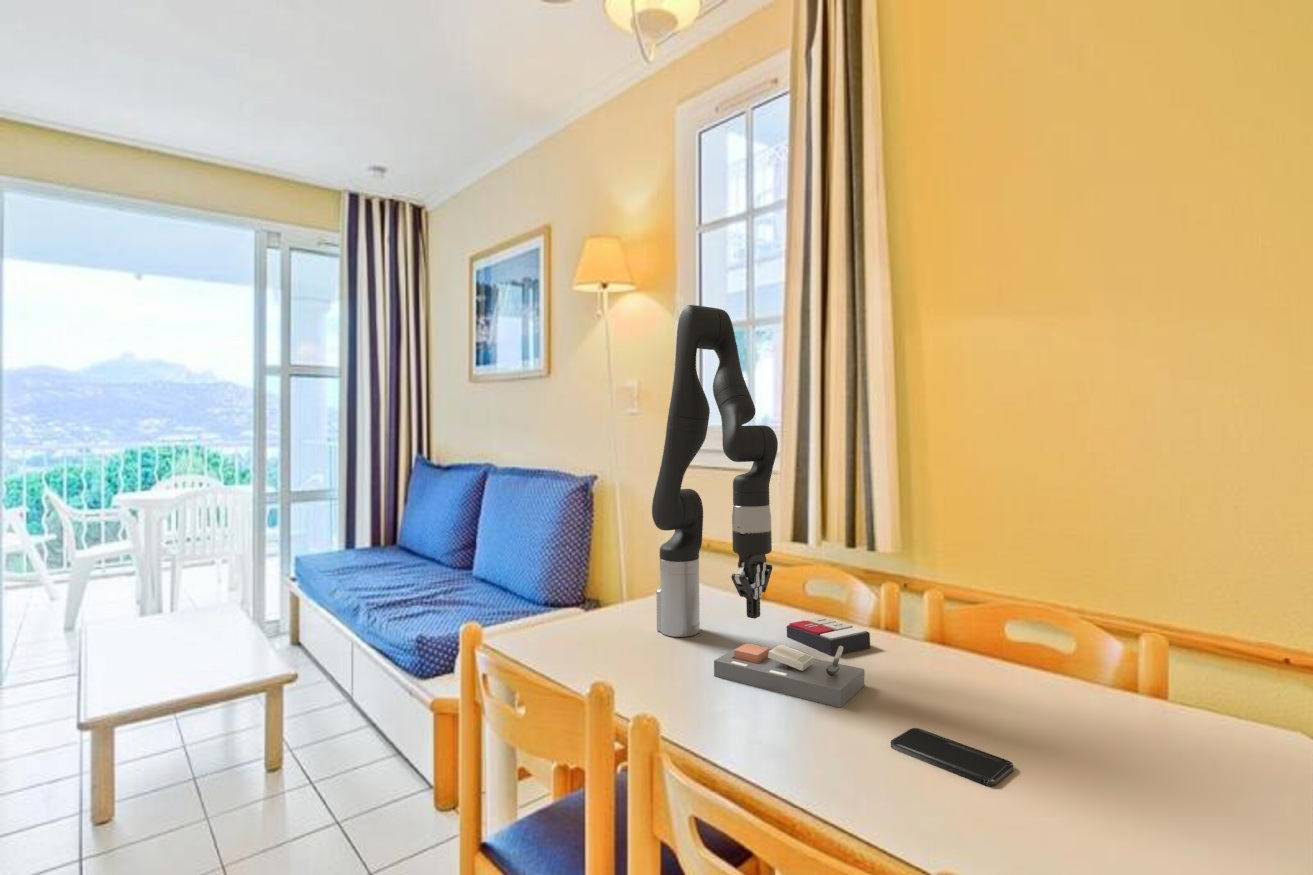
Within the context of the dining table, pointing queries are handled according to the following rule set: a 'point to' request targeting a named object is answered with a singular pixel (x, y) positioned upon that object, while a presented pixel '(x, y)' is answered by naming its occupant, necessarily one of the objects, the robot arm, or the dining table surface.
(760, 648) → the push button
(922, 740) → the phone
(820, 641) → the calculator
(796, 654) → the white slab
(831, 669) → the toggle lever
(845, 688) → the panel
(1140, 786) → the dining table surface
